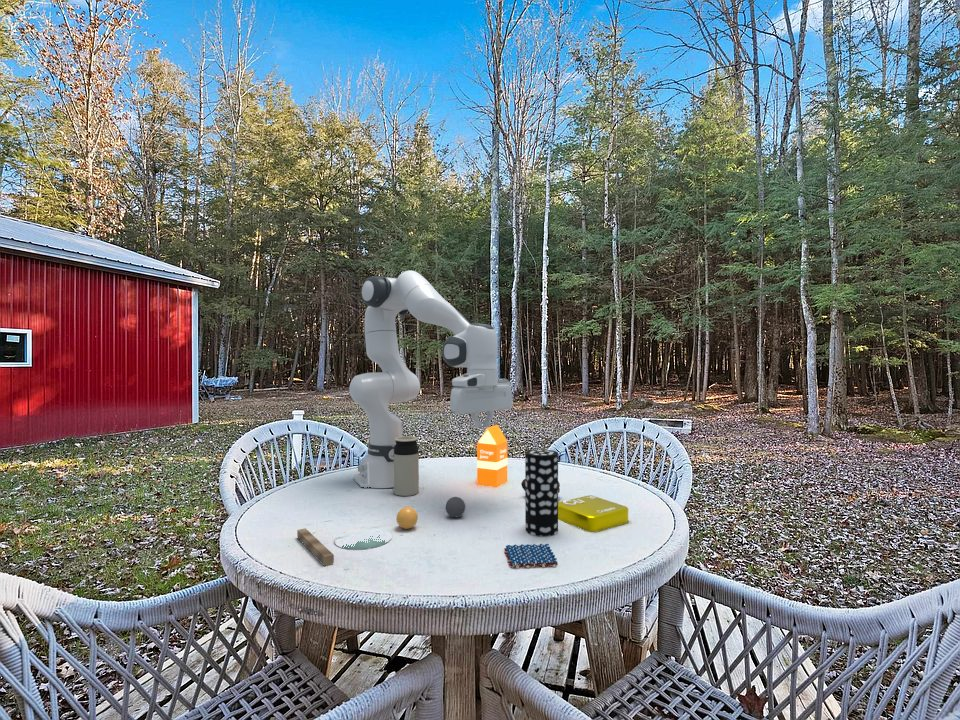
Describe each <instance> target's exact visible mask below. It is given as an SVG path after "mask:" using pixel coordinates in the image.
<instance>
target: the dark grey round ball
mask: <svg viewBox="0 0 960 720" xmlns="http://www.w3.org/2000/svg"><path fill="white" fill-rule="evenodd" d="M465 510H466V502H465V501H464V500H463V498H461V497H459V496H452V497H450V498H449V499H448V500H447V501H446V503H445V511H446V513H447V515H448V516H450V517H451V518H459V517H462V515H463V514H464V513H465Z"/></svg>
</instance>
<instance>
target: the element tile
mask: <svg viewBox="0 0 960 720" xmlns="http://www.w3.org/2000/svg"><path fill="white" fill-rule="evenodd" d="M558 521H561V522H564V523H565V524H566V523H567V524H569V525H571V526H573V527H576V528H578V527H579V528H578V529H580V528H581V530H583V529H584V530H583V531H585V530H586V531H585V532H589V531H590V532H589V533H598V532H601V530H602V531H604V529H605V530H609V529H611V527H612V528H615V526H616V527H619V526H622V524H623V525H626V524H628V523H629V507H628V506H626V505H622V504H619V503H617V502H614V501H610V500H607V499H605V498H601V497H599V496H596V495H591V494H590V495H584V496H581V497H580V496H579V497H576V498H572V499H571V498H570V499H568V500H562V501H558ZM625 523H626V524H625ZM618 525H619V526H618ZM608 528H609V529H608ZM597 531H598V532H597Z"/></svg>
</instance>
